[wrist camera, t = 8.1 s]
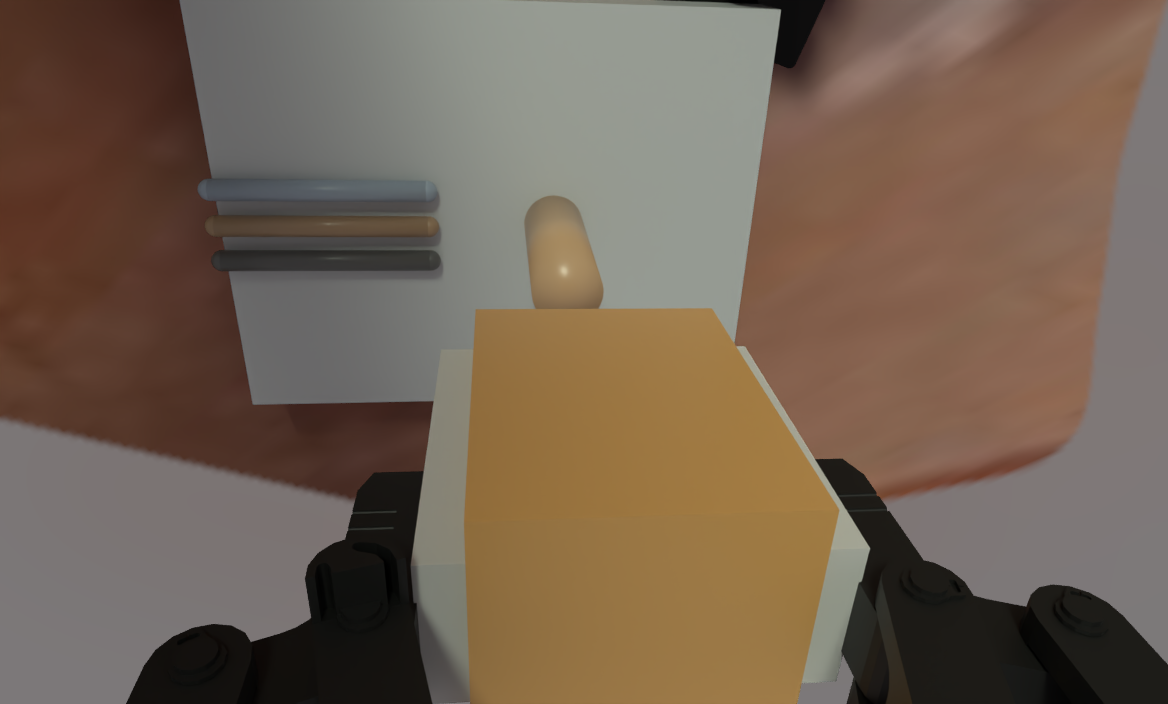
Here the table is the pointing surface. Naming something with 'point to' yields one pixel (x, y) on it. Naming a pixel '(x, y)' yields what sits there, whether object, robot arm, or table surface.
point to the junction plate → (468, 171)
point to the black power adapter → (787, 25)
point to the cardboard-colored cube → (634, 515)
